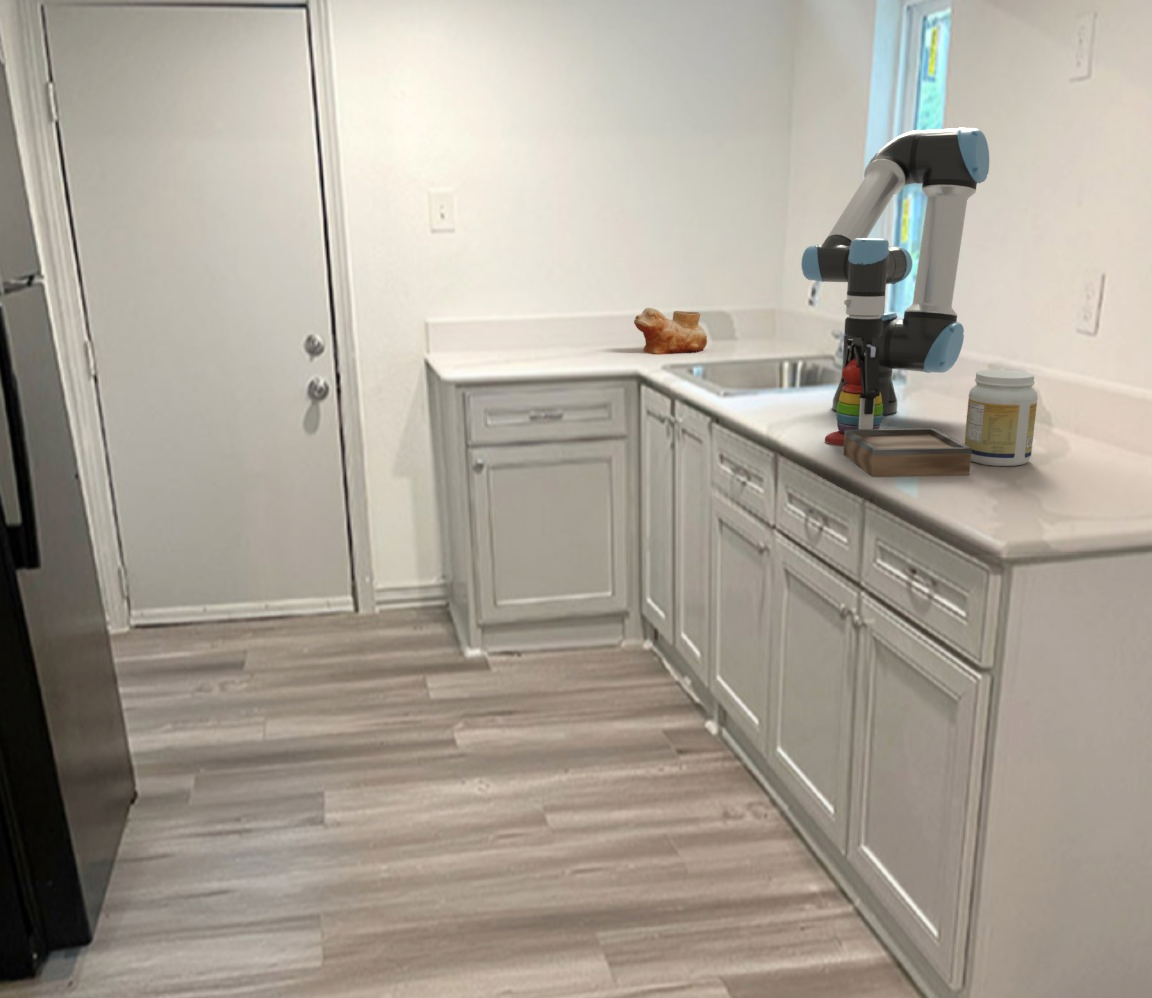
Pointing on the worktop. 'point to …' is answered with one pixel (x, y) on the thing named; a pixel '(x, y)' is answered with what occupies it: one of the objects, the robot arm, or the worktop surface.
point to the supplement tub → (1001, 417)
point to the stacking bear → (852, 405)
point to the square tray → (906, 452)
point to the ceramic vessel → (671, 332)
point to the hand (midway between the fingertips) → (857, 423)
